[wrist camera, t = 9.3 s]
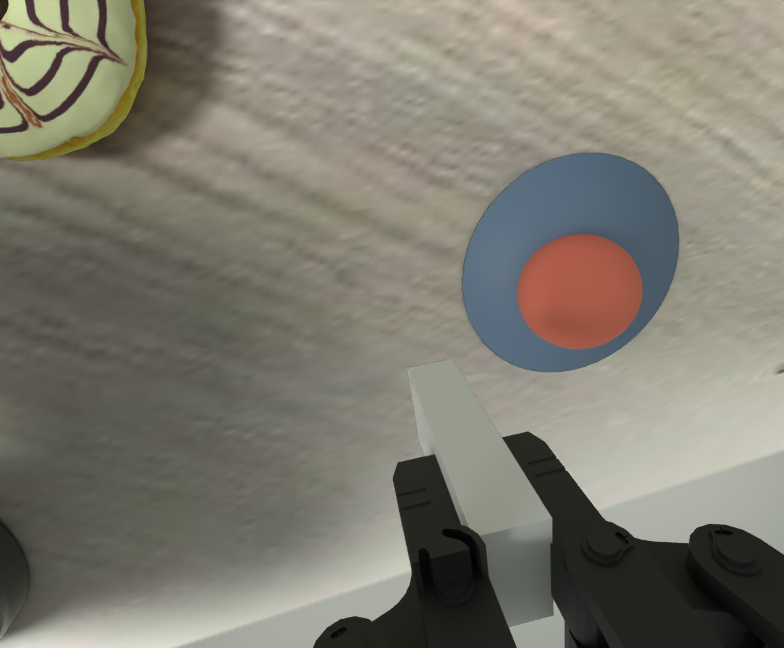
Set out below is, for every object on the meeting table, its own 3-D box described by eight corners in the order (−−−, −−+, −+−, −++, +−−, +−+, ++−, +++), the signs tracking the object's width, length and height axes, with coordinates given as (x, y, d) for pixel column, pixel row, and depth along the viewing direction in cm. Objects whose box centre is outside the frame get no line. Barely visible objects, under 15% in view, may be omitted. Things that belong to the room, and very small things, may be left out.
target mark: (502, 401, 26) (503, 403, 26) (428, 217, 21) (429, 217, 21) (690, 318, 26) (692, 319, 25) (655, 109, 21) (658, 109, 21)
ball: (646, 348, 22) (540, 330, 25) (664, 236, 20) (550, 233, 24) (612, 372, 18) (492, 345, 21) (631, 233, 17) (501, 231, 20)
